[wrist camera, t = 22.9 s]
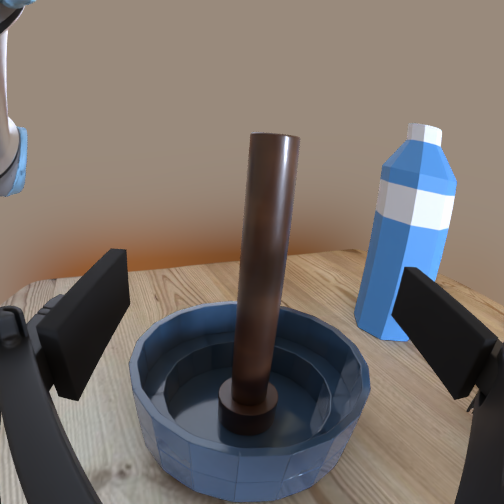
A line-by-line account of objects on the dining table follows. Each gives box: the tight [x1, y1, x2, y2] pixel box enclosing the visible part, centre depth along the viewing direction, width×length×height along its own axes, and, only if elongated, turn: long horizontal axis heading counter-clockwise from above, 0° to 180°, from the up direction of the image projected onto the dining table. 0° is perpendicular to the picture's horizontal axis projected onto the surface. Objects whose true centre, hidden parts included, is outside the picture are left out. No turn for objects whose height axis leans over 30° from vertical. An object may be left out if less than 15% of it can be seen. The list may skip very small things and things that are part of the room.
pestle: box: [218, 132, 300, 436], centre depth 19 cm, size 4×4×20 cm
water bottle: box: [354, 123, 457, 341], centre depth 34 cm, size 9×9×25 cm
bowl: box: [129, 301, 371, 502], centre depth 22 cm, size 16×16×6 cm
